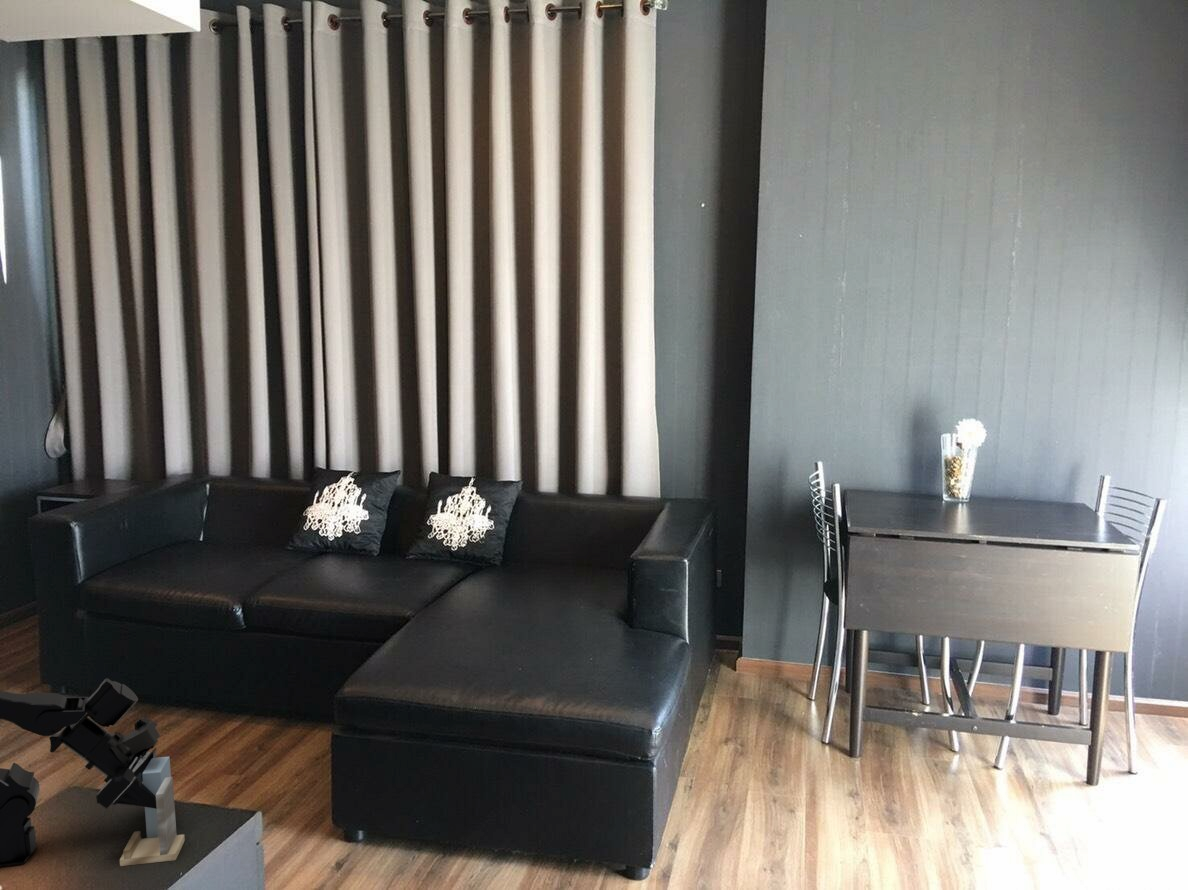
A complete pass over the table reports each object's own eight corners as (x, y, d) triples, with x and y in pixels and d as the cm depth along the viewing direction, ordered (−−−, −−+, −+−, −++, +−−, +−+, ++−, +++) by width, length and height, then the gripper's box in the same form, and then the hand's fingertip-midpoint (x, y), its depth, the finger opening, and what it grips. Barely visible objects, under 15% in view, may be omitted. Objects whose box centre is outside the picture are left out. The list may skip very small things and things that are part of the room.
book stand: (120, 866, 162) (114, 798, 161) (131, 846, 169) (126, 781, 167) (175, 860, 164) (171, 793, 163) (184, 840, 170) (180, 776, 169)
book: (147, 842, 170) (142, 773, 168) (157, 824, 176) (152, 758, 175) (165, 840, 170) (160, 772, 169) (174, 822, 177) (169, 756, 175)
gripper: (111, 733, 161) (184, 788, 164) (142, 693, 179) (207, 743, 182) (64, 782, 160) (139, 836, 164) (100, 737, 178) (166, 786, 182)
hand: (165, 797), depth 173 cm, fingers closed on book, 6 cm apart
